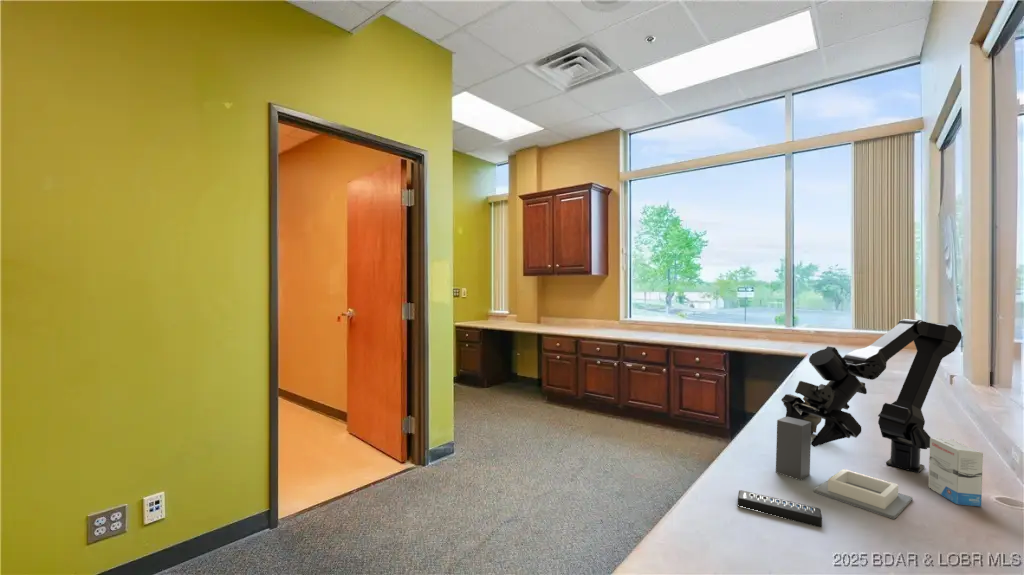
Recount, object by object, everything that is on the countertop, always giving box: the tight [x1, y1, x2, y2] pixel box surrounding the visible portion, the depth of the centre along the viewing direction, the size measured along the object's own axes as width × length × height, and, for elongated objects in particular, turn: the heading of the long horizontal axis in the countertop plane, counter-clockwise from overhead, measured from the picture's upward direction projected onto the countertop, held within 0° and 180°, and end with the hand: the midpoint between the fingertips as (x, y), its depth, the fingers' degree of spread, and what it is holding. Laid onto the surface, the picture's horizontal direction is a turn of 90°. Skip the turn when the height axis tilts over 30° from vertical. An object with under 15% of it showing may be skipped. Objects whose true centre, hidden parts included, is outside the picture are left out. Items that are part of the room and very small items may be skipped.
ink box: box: [928, 437, 984, 507], centre depth 99 cm, size 8×5×12 cm, turn 168°
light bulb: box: [802, 396, 822, 435], centre depth 139 cm, size 6×6×15 cm
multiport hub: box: [737, 489, 823, 528], centre depth 91 cm, size 4×14×2 cm, turn 59°
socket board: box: [813, 468, 913, 520], centre depth 98 cm, size 14×14×3 cm
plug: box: [775, 415, 812, 481], centre depth 110 cm, size 6×6×13 cm
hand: (796, 438), depth 110 cm, fingers open, 9 cm apart
